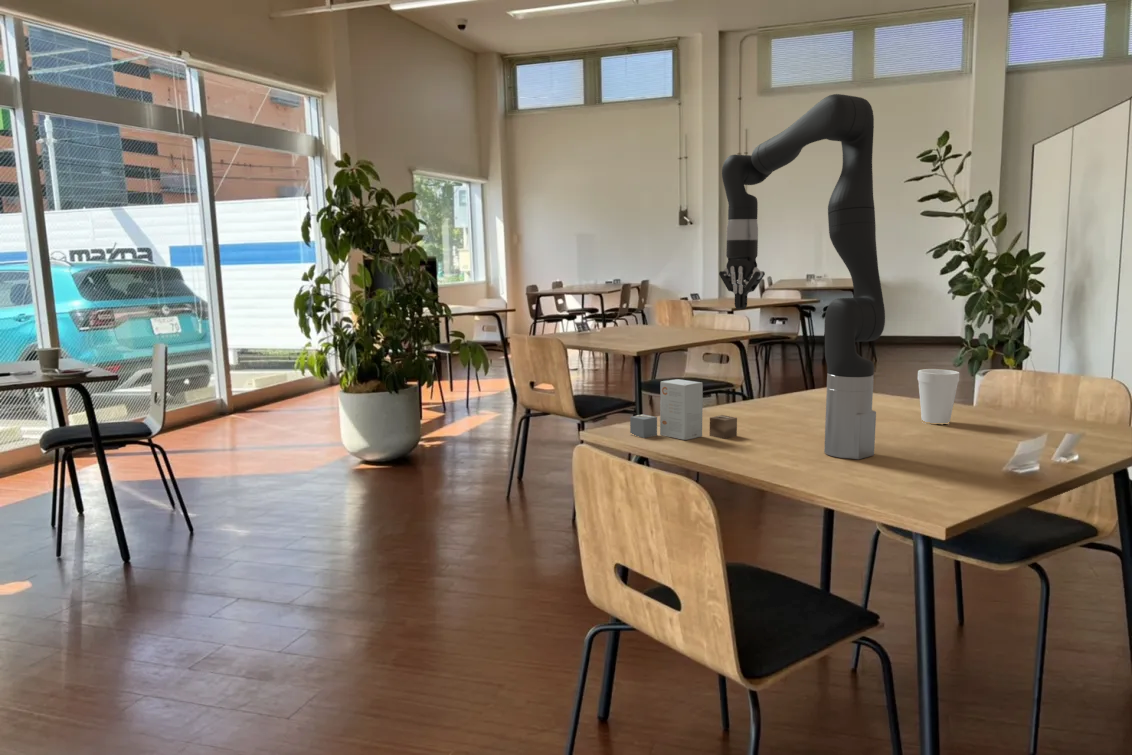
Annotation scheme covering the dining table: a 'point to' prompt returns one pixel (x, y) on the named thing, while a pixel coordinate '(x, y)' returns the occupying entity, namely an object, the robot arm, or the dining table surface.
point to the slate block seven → (643, 425)
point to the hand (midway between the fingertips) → (740, 309)
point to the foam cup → (937, 394)
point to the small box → (681, 409)
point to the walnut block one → (723, 426)
